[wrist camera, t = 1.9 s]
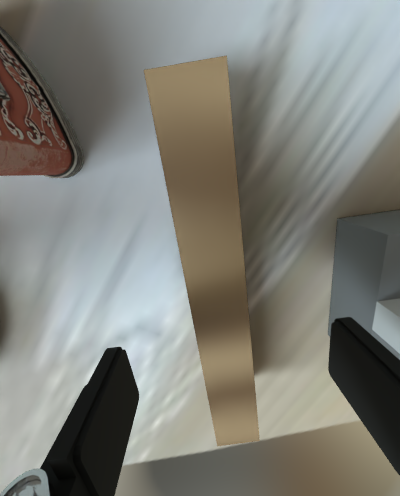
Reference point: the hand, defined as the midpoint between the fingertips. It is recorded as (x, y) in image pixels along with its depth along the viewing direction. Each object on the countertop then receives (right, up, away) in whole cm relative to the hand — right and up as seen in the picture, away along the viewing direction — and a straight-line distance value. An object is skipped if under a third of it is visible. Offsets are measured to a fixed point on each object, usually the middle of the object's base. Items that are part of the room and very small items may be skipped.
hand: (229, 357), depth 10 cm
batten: (0, +3, +6) cm, 7 cm away
